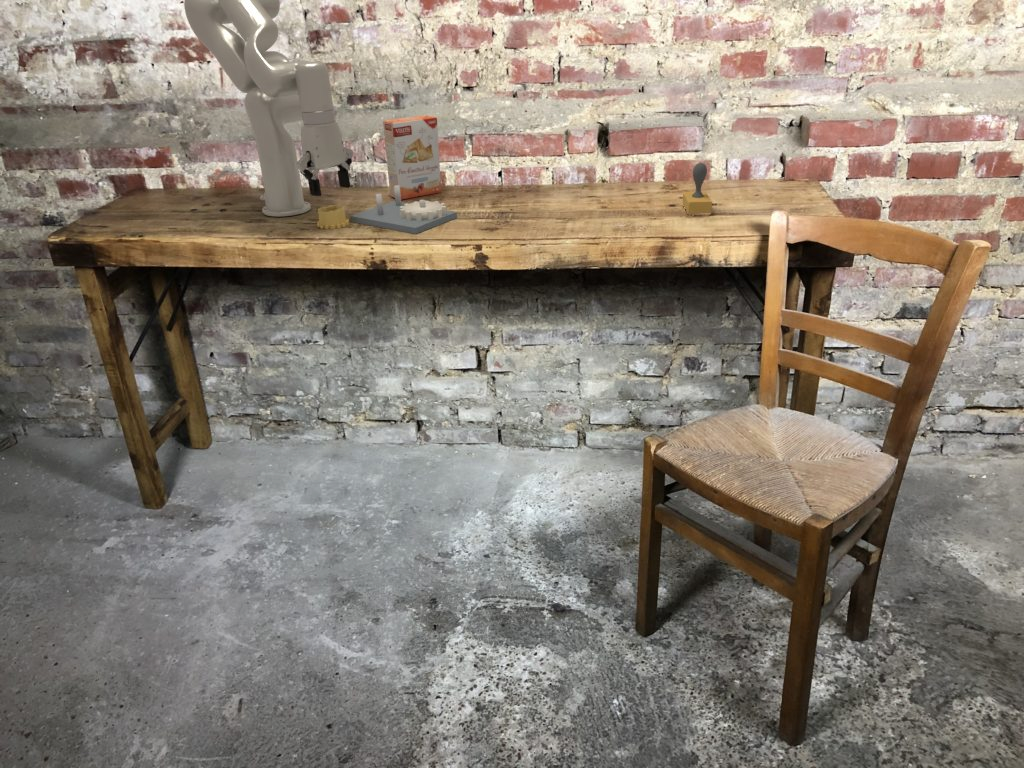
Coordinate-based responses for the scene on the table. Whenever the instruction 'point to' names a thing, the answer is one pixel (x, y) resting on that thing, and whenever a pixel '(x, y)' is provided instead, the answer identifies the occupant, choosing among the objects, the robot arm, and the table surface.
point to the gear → (332, 217)
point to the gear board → (396, 220)
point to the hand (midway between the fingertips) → (331, 191)
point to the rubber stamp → (697, 193)
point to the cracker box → (413, 155)
